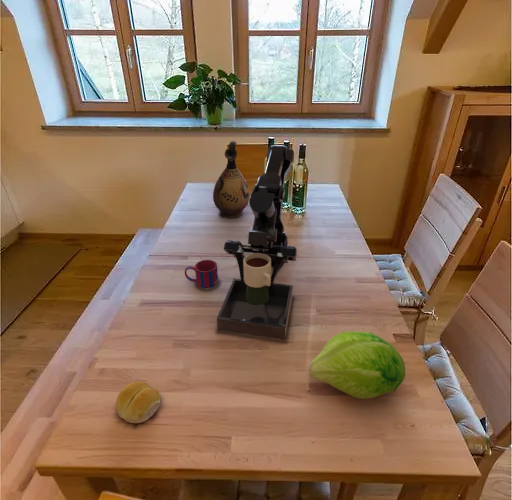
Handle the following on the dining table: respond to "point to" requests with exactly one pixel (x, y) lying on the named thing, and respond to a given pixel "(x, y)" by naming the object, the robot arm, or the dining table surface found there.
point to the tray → (256, 311)
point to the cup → (205, 273)
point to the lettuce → (359, 365)
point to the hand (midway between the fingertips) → (256, 282)
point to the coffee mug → (257, 277)
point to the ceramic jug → (231, 187)
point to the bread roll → (137, 402)
